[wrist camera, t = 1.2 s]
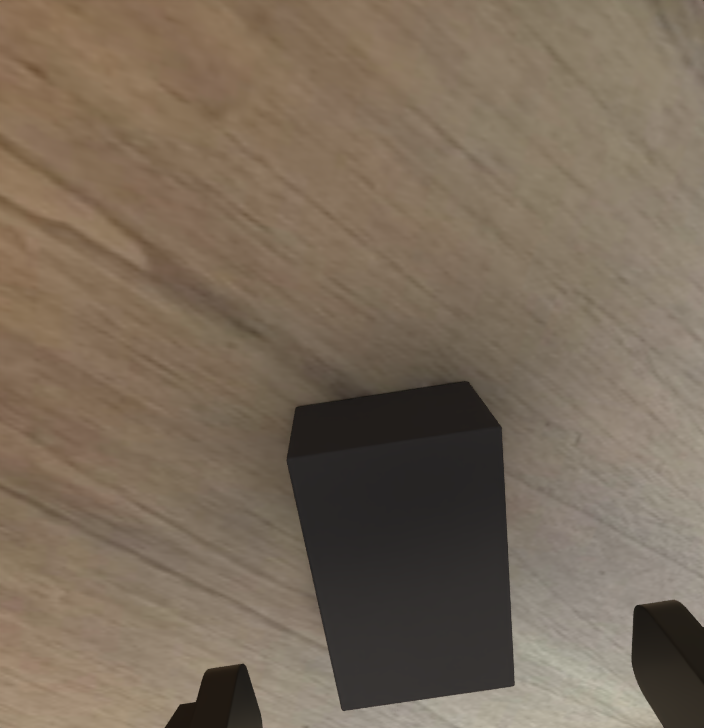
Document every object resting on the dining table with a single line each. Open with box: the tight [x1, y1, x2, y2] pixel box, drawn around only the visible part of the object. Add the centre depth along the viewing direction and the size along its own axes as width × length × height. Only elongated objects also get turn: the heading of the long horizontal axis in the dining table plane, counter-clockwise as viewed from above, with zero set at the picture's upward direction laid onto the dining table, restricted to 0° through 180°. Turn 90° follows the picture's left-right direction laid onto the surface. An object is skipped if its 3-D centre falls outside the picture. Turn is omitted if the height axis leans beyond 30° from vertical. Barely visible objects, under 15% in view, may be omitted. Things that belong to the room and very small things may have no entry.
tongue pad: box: [287, 382, 515, 711], centre depth 16 cm, size 10×6×4 cm, turn 8°
